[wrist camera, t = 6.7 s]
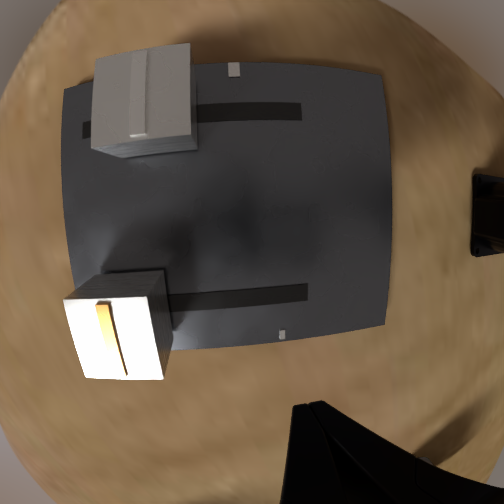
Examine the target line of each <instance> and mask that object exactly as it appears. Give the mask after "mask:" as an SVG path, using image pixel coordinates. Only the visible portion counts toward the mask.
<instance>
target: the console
mask: <svg viewBox="0 0 504 504" xmlns="http://www.w3.org/2000/svg"><path fill="white" fill-rule="evenodd" d="M194 68H195V74H196V105H197V139H198V149H197V150H185V151H175V152H165V153H156V154H148V155H140V156H133V157H126V158H120V157H117V156H114V155H110V154H107V153H104V152H101V151H98V150H95V149H91V115H92V96H93V83H94V81H92V82H88V83H84V84H80V85H77V86H73V87H70V88H67V89H64V97H63V110H62V129H61V175H62V195H63V208H64V219H65V228H66V236H67V244H68V251H69V257H70V263H71V269H72V275H73V280H74V285H75V290H76V289H77V288H79V287H80V286H81V285H82V284H84V283H85V282H86V281H88V280H89V279H90V278H92V277H93V276H94V275H98V274H114V273H130V272H145V271H160V270H164V278H165V285H166V293H167V299H168V306H169V313H170V319H171V325H172V331H173V337H174V340H173V344H172V348H171V350H188V349H206V348H220V347H233V346H244V345H255V344H264V343H273V342H282V341H289V340H297V339H304V338H311V337H318V336H325V335H331V334H337V333H343V332H349V331H354V330H360V329H365V328H370V327H375V326H380V325H385V317H386V309H387V299H388V289H389V277H390V263H391V242H392V177H391V157H390V143H389V131H388V121H387V112H386V104H385V97H384V90H383V83H382V77H381V75H376V74H371V73H366V72H360V71H354V70H348V69H341V68H333V67H325V66H315V65H304V64H290V63H268V62H231V63H209V64H195V65H194Z"/></svg>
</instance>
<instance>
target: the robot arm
mask: <svg viewBox="0 0 504 504" xmlns="http://www.w3.org/2000/svg"><path fill="white" fill-rule="evenodd" d="M500 253H504V178H500V177H494V176H488V175H482V174H475V175H474V176H473V222H472V240H471V255H472V256H475V257H481V256H487V255H494V254H500ZM280 504H504V488H499V487H494V486H490V485H487V484H484V483H480V482H477V481H474V480H470V479H467V478H464V477H461V476H458V475H455V474H453V473H450V472H447V471H445V470H443V469H440V468H438V467H436V466H434V465H432V464H430V463H428V462H426V461H424V460H422V459H420V458H416V456H414V455H412V454H411V453H409V452H407V451H405V450H403V449H401V448H400V447H398V446H396V445H394V444H393V443H391V442H389V441H387V440H386V439H384V438H382V437H381V436H379V435H377V434H375V433H374V432H372V431H370V430H369V429H367V428H366V427H364V426H362V425H361V424H359V423H357V422H356V421H354V420H353V419H351V418H349V417H348V416H346V415H345V414H343V413H342V412H340V411H338V410H337V409H335V408H334V407H332V406H331V405H329V404H328V403H326V402H325V401H322V400H320V401H315V402H310V403H309V404H306V403H304V404H299V405H294V406H293V408H292V417H291V425H290V434H289V442H288V450H287V458H286V465H285V472H284V479H283V486H282V492H281V500H280Z"/></svg>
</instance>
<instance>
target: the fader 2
mask: <svg viewBox="0 0 504 504" xmlns="http://www.w3.org/2000/svg"><path fill="white" fill-rule="evenodd" d="M63 302H64V306H65V310H66V314H67V318H68V322H69V325H70V329H71V333H72V336H73V339H74V343H75V346H76V349H77V352H78V355H79V358H80V361H81V364H82V367H83V370H84V373H85V376H86V377H92V378H109V379H164V376H165V372H166V368H167V363H168V359H169V355H170V351H171V348H172V344H173V340H174V337H173V331H172V325H171V319H170V313H169V306H168V299H167V293H166V285H165V278H164V270H160V271H145V272H130V273H114V274H98V275H94V276H93V277H92V278H90V279H89V280H88V281H86V282H85V283H84V284H82V285H81V286H80V287H79V288H77V289H76V290H75V291H73V292H72V293H71V294H70V295H68V296H67V297H66V298H65V299H63Z"/></svg>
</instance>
